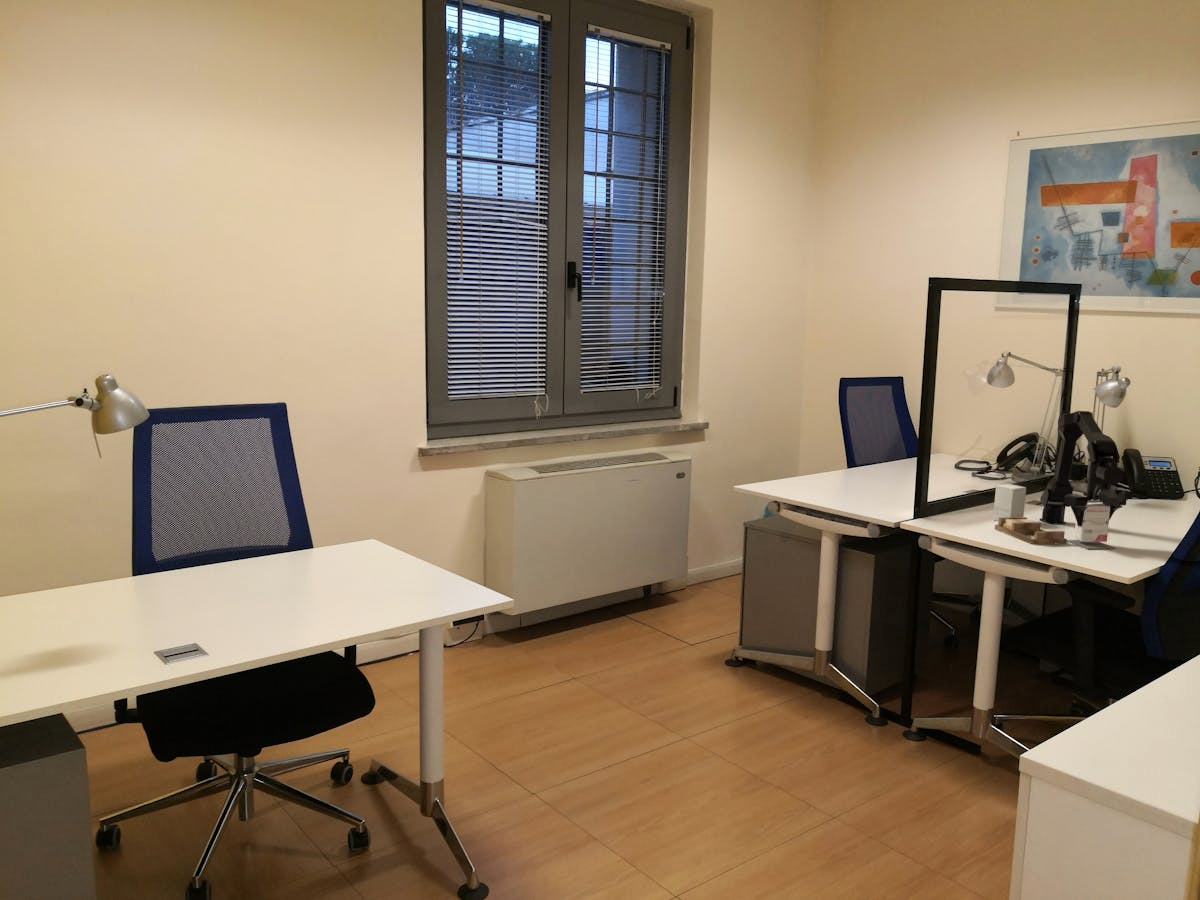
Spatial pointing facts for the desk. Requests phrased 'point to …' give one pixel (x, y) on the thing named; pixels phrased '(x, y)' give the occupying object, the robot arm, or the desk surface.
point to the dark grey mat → (1091, 545)
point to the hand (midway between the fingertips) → (1092, 525)
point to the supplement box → (1009, 501)
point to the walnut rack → (1029, 531)
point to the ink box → (1094, 523)
